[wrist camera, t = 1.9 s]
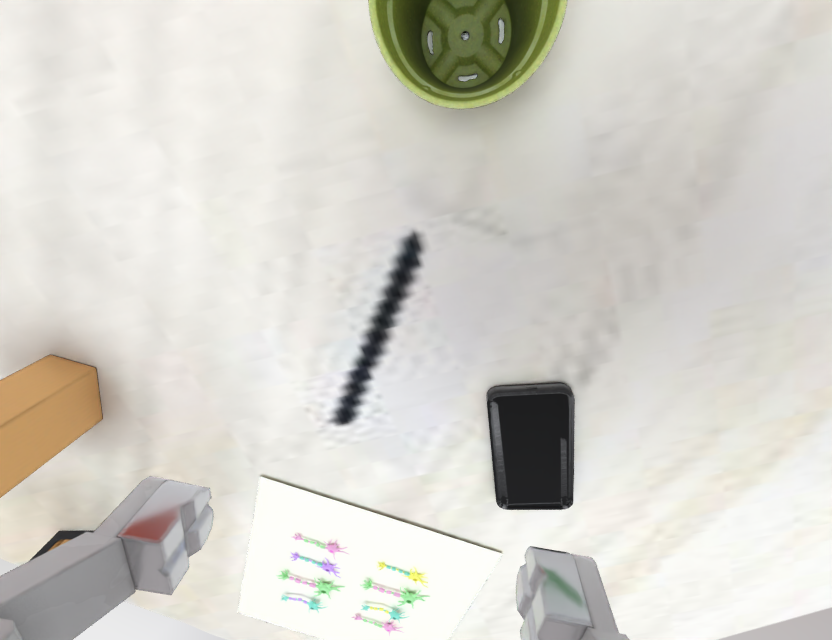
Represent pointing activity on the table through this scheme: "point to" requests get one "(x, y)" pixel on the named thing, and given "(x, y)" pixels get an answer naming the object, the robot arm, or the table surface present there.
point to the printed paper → (354, 571)
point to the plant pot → (465, 45)
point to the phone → (532, 445)
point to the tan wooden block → (44, 414)
